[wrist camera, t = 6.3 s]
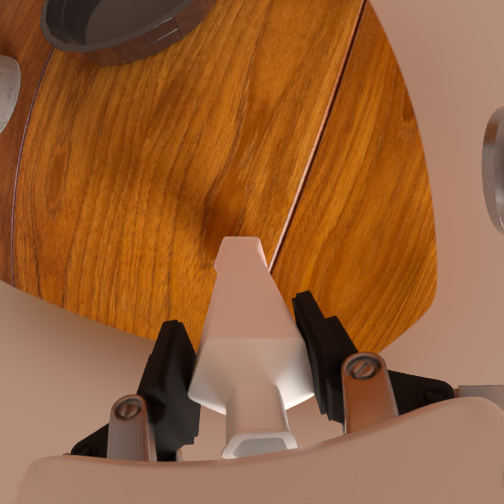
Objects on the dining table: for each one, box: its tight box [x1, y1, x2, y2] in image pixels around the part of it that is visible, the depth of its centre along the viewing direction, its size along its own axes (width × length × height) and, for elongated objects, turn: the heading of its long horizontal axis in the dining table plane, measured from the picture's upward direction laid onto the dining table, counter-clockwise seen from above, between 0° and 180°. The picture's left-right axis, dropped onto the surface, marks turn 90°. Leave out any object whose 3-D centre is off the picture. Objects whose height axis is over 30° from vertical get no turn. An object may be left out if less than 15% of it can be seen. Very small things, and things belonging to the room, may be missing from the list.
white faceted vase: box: [188, 236, 315, 459], centre depth 13 cm, size 5×4×15 cm
